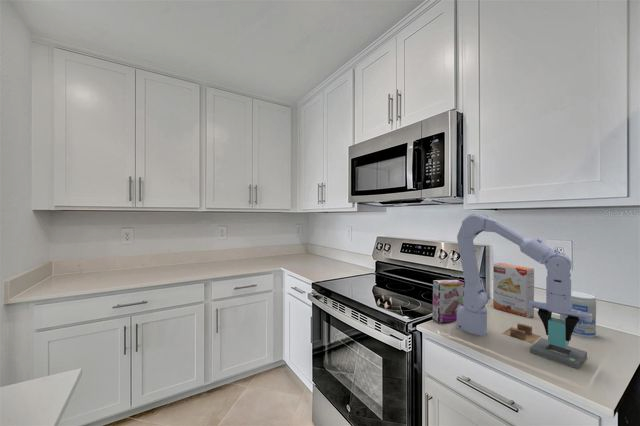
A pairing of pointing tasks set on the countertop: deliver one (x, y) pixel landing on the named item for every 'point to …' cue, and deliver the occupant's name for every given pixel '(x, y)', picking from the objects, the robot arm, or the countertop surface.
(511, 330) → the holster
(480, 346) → the countertop surface
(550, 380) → the countertop surface
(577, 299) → the supplement tub
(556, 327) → the plug
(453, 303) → the candy bar box
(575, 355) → the port
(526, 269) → the cracker box
